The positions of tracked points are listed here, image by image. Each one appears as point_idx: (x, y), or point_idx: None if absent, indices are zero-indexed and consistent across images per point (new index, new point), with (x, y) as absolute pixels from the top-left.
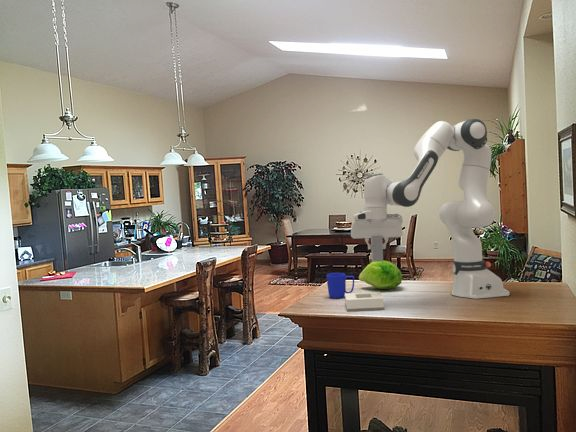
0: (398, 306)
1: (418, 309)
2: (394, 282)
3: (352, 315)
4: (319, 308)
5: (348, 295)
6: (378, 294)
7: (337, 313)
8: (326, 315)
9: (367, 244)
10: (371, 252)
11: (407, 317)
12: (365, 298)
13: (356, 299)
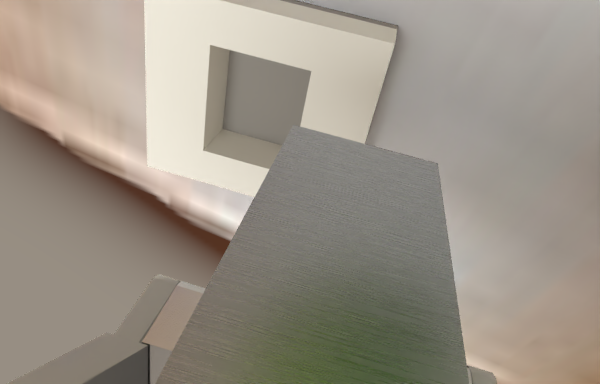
0: (452, 158)
1: (506, 249)
2: None
3: (192, 204)
4: (39, 10)
5: (163, 61)
6: (351, 124)
7: (132, 148)
8: (87, 157)
9: (100, 351)
10: (262, 182)
11: None
12: (247, 181)
13: (197, 180)
